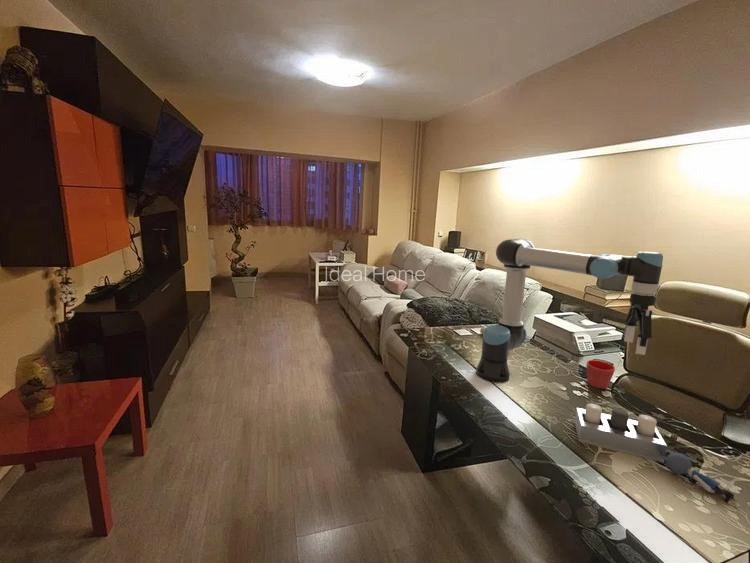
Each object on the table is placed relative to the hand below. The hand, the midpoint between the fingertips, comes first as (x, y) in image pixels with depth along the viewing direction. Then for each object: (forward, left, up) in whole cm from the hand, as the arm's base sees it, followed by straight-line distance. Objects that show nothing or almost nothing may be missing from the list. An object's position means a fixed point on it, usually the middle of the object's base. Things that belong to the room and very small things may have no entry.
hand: (633, 347), depth 129 cm
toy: (+10, -36, -27) cm, 46 cm away
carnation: (-51, +53, -27) cm, 78 cm away
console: (-7, -24, -27) cm, 36 cm away
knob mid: (-7, -24, -22) cm, 33 cm away
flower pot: (-5, +21, -27) cm, 35 cm away
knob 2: (0, -24, -22) cm, 32 cm away
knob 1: (-15, -24, -22) cm, 36 cm away
